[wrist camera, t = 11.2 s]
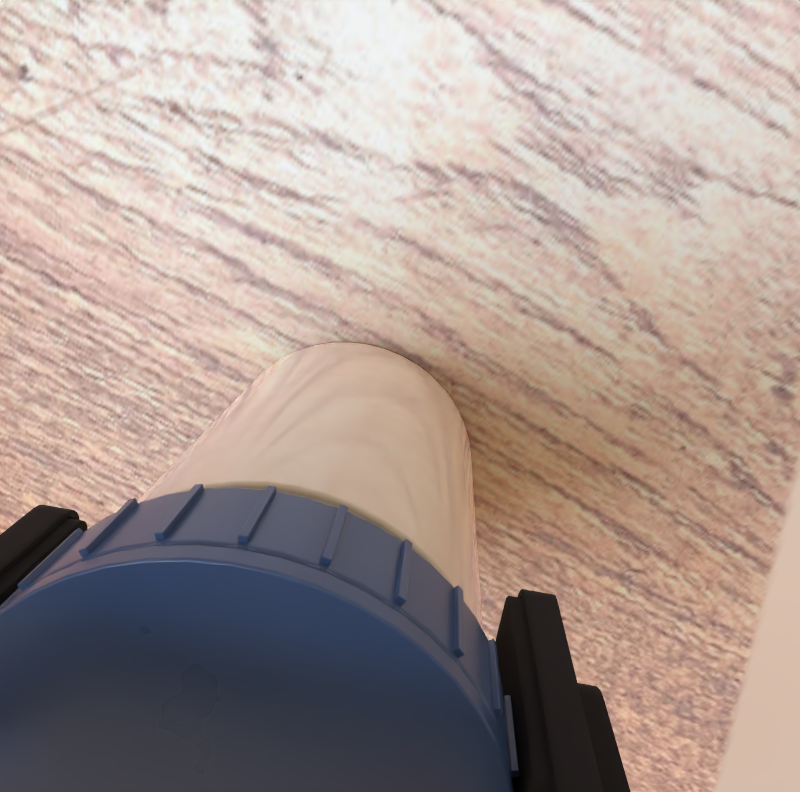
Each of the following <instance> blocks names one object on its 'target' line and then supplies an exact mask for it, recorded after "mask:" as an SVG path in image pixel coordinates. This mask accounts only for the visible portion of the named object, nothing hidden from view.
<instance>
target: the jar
mask: <svg viewBox="0 0 800 792" xmlns="http://www.w3.org/2000/svg"><path fill="white" fill-rule="evenodd" d="M195 484H203V487H204V489H205V488H248V489H260V490H265V489H266V488H267V486H275V487H276V491H279V492H283V493H287V494H291V495H296V496H301V497H306V498H310V499H313V500H316V501H319V502H322V503H325V504H328V505H331V506H335V507H339V506H340V504H342V505H344V506H347V507H348V510H347V511H348V512H350V513H352V514H354V515H356V516H358V517H360V518H362V519H364V520H366V521H368V522H370V523H373V524H375V525H376V526H378V527H380V528H381V529H383V530H384V531H386V532H388V533H389V534H391V535H393V536H394V537H396V538H398V539H400V540H402V541H404V540H405V539H408V540H409V541H410V542H412V543H413V544H412V549H413V550H414V551H415V552H416V553H418V554H419V555H420V556H421V557H423V558H424V559H425V560H426V561H428V562H429V563H430V564H431V565H432V566H433V567H434V568H435V569H436V570H437V571H438V572H439V573H440V574H441V575H442V576H443V577H444V578H445V579H446V580H447V581H448V582H449V583H450V584H451V585H452V586H453V587H456V586H458V585H459V586H460V587H461V589H462V590H463V600H464V602H465V603H466V605H467V606H468V607H469V609H470V610H471V611H472V613H473V614H474V615H475V617H476V619H477V621H478V623H479V624H480V626H481V628H482V614H481V599H480V584H479V568H478V553H477V538H476V522H475V507H474V492H473V476H472V461H471V450H470V443H469V438H468V434H467V431H466V427H465V424H464V422H463V420H462V417H461V415H460V413H459V411H458V409H457V407H456V406H455V404H454V402H453V401H452V399H451V397H450V396H449V395H448V394H447V392H446V391H445V390H444V389H443V387H442V386H441V385H440V384H439V383H438V382H437V381H436V380H435V379H434V378H433V377H432V376H431V375H430V374H429V373H427V372H426V371H425V370H423V369H422V368H421V367H419V366H418V365H416V364H415V363H413V362H412V361H410V360H408V359H406V358H404V357H403V356H401V355H399V354H396V353H394V352H391V351H389V350H386V349H383V348H379V347H375V346H372V345H368V344H360V343H352V342H334V343H326V344H318V345H314V346H311V347H307V348H303V349H300V350H298V351H296V352H293V353H291V354H288V355H286V356H285V357H283V358H281V359H280V360H278V361H276V362H275V363H273V364H272V365H271V366H269V367H268V368H267V369H266V370H264V371H263V372H262V373H261V374H260V375H259V376H258V377H257V378H256V379H255V380H254V381H253V382H252V383H251V384H250V385H249V386H248V387H247V388H246V389H245V390H244V391H243V392H242V393H241V394H240V395H239V396H238V397H237V398H236V399H235V400H234V402H233V403H232V404H231V405H230V406H229V407H228V408H227V409H226V410H225V411H224V412H223V413H222V414H221V415H220V416H219V417H218V418H217V419H216V420H215V421H214V422H213V423H212V424H211V425H210V426H209V427H208V428H207V429H206V430H205V431H204V432H203V433H202V434H201V435H200V436H199V438H198V439H197V440H196V441H195V442H194V443H193V444H192V445H191V446H190V447H189V448H188V449H187V450H186V451H185V452H184V453H183V454H182V455H181V456H180V457H179V458H178V459H177V460H176V461H175V462H174V463H173V464H172V465H171V466H170V467H169V468H168V469H167V470H166V471H165V473H164V474H163V475H162V476H161V477H160V478H159V479H158V480H157V481H156V482H155V483H154V484H153V485H152V486H151V487H150V488H149V489H148V490H147V491H146V492H145V493H144V494H143V495H142V496H141V497H140V498H139V499H138V500H137V502H138V503H140V502H143V501H147V500H150V499H154V498H157V497H160V496H164V495H167V494H173V493H180V492H186V491H190V490H191V488H192V487H193V486H194V485H195Z"/></svg>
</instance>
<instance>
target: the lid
mask: <svg viewBox="0 0 800 792" xmlns="http://www.w3.org/2000/svg"><path fill="white" fill-rule="evenodd" d="M347 510H348V507H347V506H344V505H342V504H340V506H339V507H335V506H331V505H328V504H325V503H322V502H319V501H316V500H313V499H310V498H306V497H301V496H296V495H291V494H287V493H283V492H279V491H276V487H275V486H267V488H266V489H265V490H260V489H248V488H205V489H204V487H203V484H195V485H194V486H193V487H192V488H191V490H190V491H186V492H180V493H173V494H167V495H164V496H160V497H157V498H154V499H150V500H147V501H143V502H140V503H138V502H137V500H136V499H135V498H134V499H131V500H129V501H128V502H127V503H126V504H125V505H124V506H123V507H122V508H121V509H120V510H119V511H118V512H117V513H115V514H112V515H110V516H108V517H106V518H105V519H103V520H101V521H100V522H98V523H97V524H95V525H94V526H92V527H91V528H89V529H88V530H86V531H85V532H83V531H82V530H81V529H80V528H78V529H77V530H75V531H74V532H73V533H72V534H71V535H70V536H69V537H68V538H67V539H66V540H65V541H63V542H62V543H61V544H60V545H59V546H58V547H57V548H56V549H55V550H54V551H53V552H52V553H51V554H50V555H49V556H47V557H46V558H45V559H44V560H43V561H42V562H41V563H40V564H39V565H38V566H37V567H36V568H35V569H34V570H33V571H32V572H30V573H29V574H28V575H27V576H26V577H25V578H24V579H23V580H22V581H21V582H20V583H19V584H18V585H17V586H18V587H19V588H18V589H17V590H16V591H15V592H14V593H13V594H12V595H11V596H10V597H9V598H8V599H7V600H6V601H5V602H4V603H3V604H2V605H1V606H0V792H514V787H513V780H512V777H513V778H514V777H519V767H518V758H517V749H516V740H515V731H514V722H513V713H512V704H511V696H510V695H506V696H504V692H503V686H502V681H501V676H500V671H499V666H498V655H497V645H496V643H495V640H494V639H492V640H489V641H488V639H487V637H486V636H485V634H484V632H483V630H482V628H481V626H480V624H479V623H478V621H477V619H476V617H475V615H474V614H473V613H472V611H471V610H470V609H469V607H468V606H467V605H466V603H465V602H464V600H463V590H462V589H461V587H460V586H459V585H458V586H456V587H453V586H452V585H451V584H450V583H449V582H448V581H447V580H446V579H445V578H444V577H443V576H442V575H441V574H440V573H439V572H438V571H437V570H436V569H435V568H434V567H433V566H432V565H431V564H430V563H429V562H428V561H426V560H425V559H424V558H423V557H421V556H420V555H419V554H418V553H416V552H415V551H414V550H413V549H412V544H413V543H412V542H410V541H409V540H408V539H405V540H404V541H402V540H400V539H398V538H396V537H394V536H393V535H391V534H389V533H388V532H386V531H384V530H383V529H381V528H380V527H378V526H376V525H375V524H373V523H370V522H368V521H366V520H364V519H362V518H360V517H358V516H356V515H354V514H352V513H350V512H348V511H347Z"/></svg>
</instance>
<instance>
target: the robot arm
mask: <svg viewBox="0 0 800 792" xmlns="http://www.w3.org/2000/svg"><path fill="white" fill-rule="evenodd" d="M78 528H80V529H81V530H82V531H83V532H85V531H86V530H88V529H87V524H86V522H84V521H81V520H79V516H78V514H77V512H76V511H74V510H69V509H64V508H58V507H52V506H47V505H38V506H37V507H35V508H33V509H32V510H31V511H30V512H28V513H27V514H26V515H25V516H23V517H22V518H21V519H20V520H18V521H17V522H16V523H15V524H13V525H12V526H11V527H10V528H8V529H7V530H6V531H5V532H3V533H2V534H1V535H0V606H1V605H2V604H3V603H4V602H5V601H6V600H7V599H8V598H9V597H10V596H11V595H12V594H13V593H14V592H15V591H16V590H17V589H18V588H19V587H18V586H17V585H18V584H19V583H20V582H21V581H22V580H23V579H24V578H25V577H26V576H27V575H28V574H29V573H30V572H32V571H33V570H34V569H35V568H36V567H37V566H38V565H39V564H40V563H41V562H42V561H43V560H44V559H45V558H46V557H47V556H49V555H50V554H51V553H52V552H53V551H54V550H55V549H56V548H57V547H58V546H59V545H60V544H61V543H62V542H63V541H65V540H66V539H67V538H68V537H69V536H70V535H71V534H72V533H73V532H74V531H75V530H77V529H78ZM495 643H496V645H497V655H498V666H499V671H500V676H501V681H502V686H503V692H504V696H506V695H510V696H511V704H512V713H513V722H514V731H515V740H516V749H517V758H518V767H519V777H514V778H513V777H512V780H513V787H514V792H630V789H629V785H628V782H627V778H626V775H625V771H624V768H623V764H622V761H621V757H620V754H619V750H618V747H617V743H616V740H615V736H614V733H613V729H612V726H611V723H610V719H609V716H608V712H607V709H606V705H605V702H604V698H603V696H602V693H601V691H600V689H598V688H597V687H596V686H591V685H585V684H580V683H577V680H576V676H575V671H574V667H573V663H572V659H571V655H570V651H569V647H568V643H567V639H566V635H565V630H564V626H563V622H562V618H561V614H560V610H559V606H558V602H557V598H556V596H555V595H552V594H546V593H541V592H535V591H529V590H524V589H522V590H520V592H519V594H518V597H512V596H508V597H507V598H506V601H505V605H504V609H503V613H502V617H501V621H500V625H499V629H498V633H497V638H496V642H495Z"/></svg>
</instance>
